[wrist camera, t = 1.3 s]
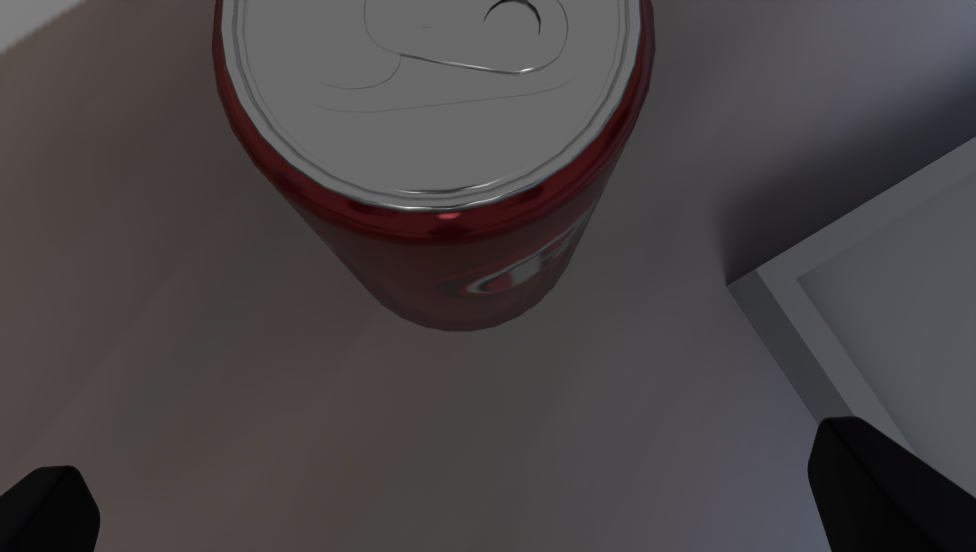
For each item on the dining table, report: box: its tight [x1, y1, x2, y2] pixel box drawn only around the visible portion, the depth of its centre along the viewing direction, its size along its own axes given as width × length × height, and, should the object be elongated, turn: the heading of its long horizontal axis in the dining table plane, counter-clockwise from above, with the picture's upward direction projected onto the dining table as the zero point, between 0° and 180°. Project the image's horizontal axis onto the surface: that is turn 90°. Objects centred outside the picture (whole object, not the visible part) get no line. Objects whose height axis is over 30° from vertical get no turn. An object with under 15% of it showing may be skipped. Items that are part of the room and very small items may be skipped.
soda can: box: [212, 0, 656, 331], centre depth 17 cm, size 7×7×12 cm
